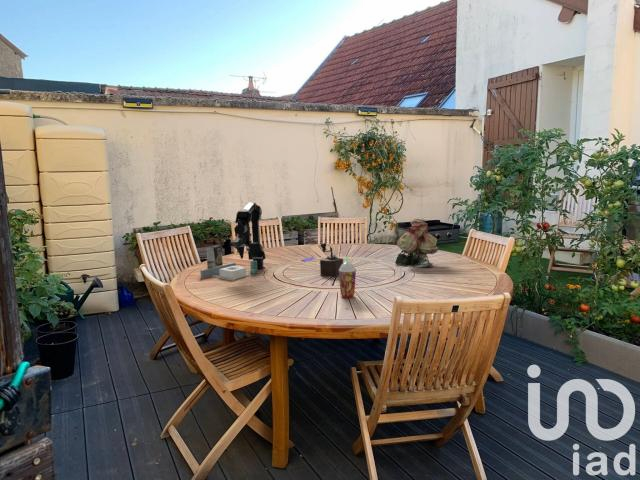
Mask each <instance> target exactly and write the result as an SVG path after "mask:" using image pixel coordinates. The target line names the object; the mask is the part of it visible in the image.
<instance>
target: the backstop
mask: <svg viewBox="0 0 640 480" xmlns="http://www.w3.org/2000/svg"><path fill="white" fill-rule="evenodd" d="M236 264H237V263H236V262H230V263H226V264H223V265H221V266H216V267H212V268H208V269H207V268H204V269H200V279H203V280H204V279H207V278H211V277H212V278H218V279H221V280H229V281H231V282H232V281H233V282H234V281H235V279H231V278H226V277H221V276H220V273H219V269H222V268H226V267H230V266H237V265H236ZM245 277H251V274H250V273H249V274H248V273H246V276H245Z"/></svg>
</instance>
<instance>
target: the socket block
mask: <svg viewBox="0 0 640 480" xmlns="http://www.w3.org/2000/svg"><path fill="white" fill-rule="evenodd" d="M219 273H220V275H219V276H221V277H226V278H231V279H234V280H236V279H240V278H244V277H247V276H246V274H247V268H246V267H244V266H237V265H236V266H230V267H226V268H222V269H219Z"/></svg>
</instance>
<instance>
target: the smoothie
mask: <svg viewBox="0 0 640 480" xmlns="http://www.w3.org/2000/svg"><path fill="white" fill-rule="evenodd" d="M356 271H357V269H356V267H355V266H354V264H353V263H352V262H349V256H346V261H345V262H343V264H342V265H341V266H340V269H339V276H338V277H339V288H340V289H339V290H340V291H339V293H340V295H341V297H342V298H344V299H352V298H353V297H354V295H355V292H356V273H357V272H356Z"/></svg>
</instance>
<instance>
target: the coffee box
mask: <svg viewBox="0 0 640 480" xmlns="http://www.w3.org/2000/svg"><path fill="white" fill-rule="evenodd" d="M205 248H206V265H207V268H206V269H208V268H212V267H216V266H221V265H224V263H223V261H224V260H223V246H222V245H219V244H217V245H216V244H213V245H211V246H207V247H205Z"/></svg>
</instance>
